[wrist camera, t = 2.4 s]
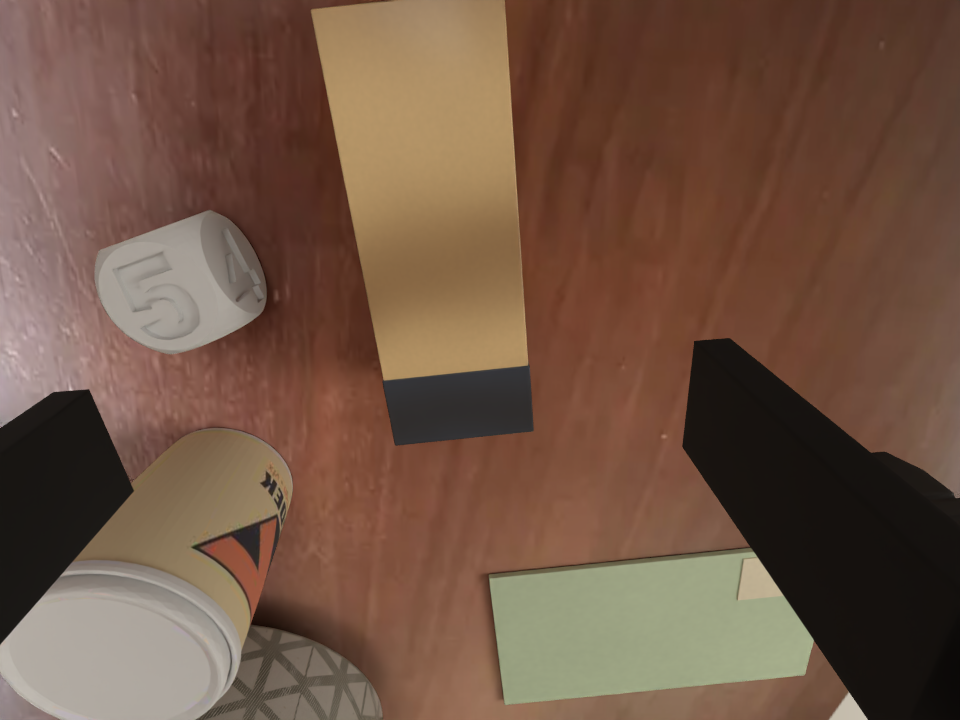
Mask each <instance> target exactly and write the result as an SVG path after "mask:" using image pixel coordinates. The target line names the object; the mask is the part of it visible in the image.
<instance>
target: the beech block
mask: <svg viewBox="0 0 960 720" xmlns="http://www.w3.org/2000/svg"><path fill="white" fill-rule="evenodd" d="M311 15H312V20H313V25H314V30H315V36H316V41H317V46H318V51H319V56H320V61H321V66H322V71H323V76H324V81H325V86H326V91H327V96H328V101H329V106H330V111H331V117H332V122H333V127H334V132H335V137H336V142H337V147H338V152H339V157H340V162H341V167H342V172H343V177H344V182H345V187H346V192H347V197H348V203H349V208H350V213H351V218H352V223H353V228H354V233H355V238H356V243H357V248H358V253H359V258H360V263H361V268H362V273H363V278H364V283H365V289H366V294H367V299H368V304H369V309H370V314H371V319H372V324H373V329H374V334H375V339H376V344H377V349H378V354H379V359H380V364H381V370H382V375H383V387H384V392H385V397H386V402H387V407H388V412H389V417H390V422H391V427H392V432H393V437H394V442H395V445H406V444H415V443H425V442H435V441H444V440H454V439H464V438H473V437H483V436H493V435H502V434H512V433H522V432H531V431H534V427H533V412H532V396H531V380H530V366H529V362H528V354H527V338H526V323H525V307H524V292H523V276H522V261H521V245H520V230H519V214H518V199H517V183H516V167H515V152H514V136H513V121H512V105H511V90H510V74H509V59H508V43H507V28H506V12H505V0H390V1H381V2H372V3H363V4H354V5H345V6H335V7H326V8H317V9H311Z"/></svg>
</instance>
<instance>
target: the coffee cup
mask: <svg viewBox="0 0 960 720" xmlns="http://www.w3.org/2000/svg"><path fill="white" fill-rule="evenodd" d="M131 485H132V487H133V490H134V492H133V493H132V494H131V495H130V496H129V498H128V499H127V500H126V501H125V502H124V503H123V505H122V506H121V507H120V508H119V509H118V510H117V511H116V513H115V514H114V515H113V516H112V517H111V518H110V519H109V521H108V522H107V523H106V524H105V525H104V526H103V527H102V529H101V530H100V531H99V532H98V533H97V534H96V536H95V537H94V538H93V539H92V540H91V541H90V542H89V544H88V545H87V546H86V547H85V548H84V549H83V550H82V552H81V553H80V554H79V555H78V556H77V557H76V558H75V560H74V561H73V562H72V563H71V564H70V565H69V567H68V568H67V569H66V570H65V571H64V572H63V573H62V575H61V576H60V577H59V578H58V579H57V580H56V581H55V583H54V584H53V585H52V586H51V587H50V588H49V589H48V591H47V592H46V593H45V594H44V595H43V596H42V598H41V599H40V600H39V601H38V602H37V603H36V604H35V606H34V607H33V608H32V609H31V610H30V611H29V612H28V614H27V615H26V616H25V617H24V618H23V619H22V620H21V622H20V623H19V624H18V625H17V626H16V627H15V629H14V630H13V631H12V632H11V633H10V634H9V635H8V637H7V638H6V639H5V640H4V641H3V642H2V643H1V645H0V673H1V675H2V677H3V678H4V680H5V681H6V682H7V683H8V684H9V686H10V687H11V688H12V689H13V690H14V691H15V692H16V693H17V694H19V695H20V696H21V697H22V698H24V699H25V700H26V701H28V702H29V703H30V704H32V705H33V706H35V707H37V708H39V709H40V710H42V711H44V712H46V713H48V714H50V715H51V716H54V717H56V718H59V719H61V720H195V719H197V718H199V717H200V716H202V715H203V714H205V713H206V712H207V711H208V710H209V709H210V708H211V707H212V706H213V705H214V704H215V703H216V702H217V700H219V699H220V698H221V697H222V696H223V695H224V694H225V693H226V692H227V690H228V689H229V688H230V686H231V684H232V683H233V681H234V679H235V677H236V674H237V672H238V668H239V665H240V660H241V651H242V648H243V645H244V642H245V639H246V636H247V633H248V630H249V627H250V625H251V622H252V619H253V616H254V613H255V610H256V607H257V604H258V601H259V598H260V595H261V592H262V589H263V586H264V583H265V580H266V577H267V574H268V571H269V568H270V565H271V562H272V559H273V555H274V552H275V549H276V546H277V543H278V540H279V537H280V534H281V531H282V528H283V525H284V522H285V519H286V516H287V512H288V509H289V505H290V502H291V498H292V492H293V483H292V477H291V473H290V470H289V468H288V466H287V464H286V462H285V461H284V459H283V458H282V457H281V455H280V454H279V453H278V452H277V451H276V450H275V449H273V448H272V447H271V446H270V445H269V444H267V443H266V442H264V441H263V440H261V439H259V438H257V437H255V436H253V435H251V434H248V433H245V432H243V431H239V430H234V429H228V428H208V429H202V430H198V431H195V432H192V433H190V434H188V435H186V436H184V437H182V438H180V439H179V440H178V441H176V442H175V443H174V444H173V445H171V446H170V447H169V448H168V449H167V450H166V451H165V452H164V453H163V454H161V455H160V456H159V457H158V458H157V459H156V460H155V461H154V462H153V463H152V464H151V465H150V466H149V467H148V468H147V469H146V470H144V471H143V472H142V473H141V474H140V475H139V476H138V477H137V478H136V479H135V480H134V481H133V482H132V483H131Z"/></svg>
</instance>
